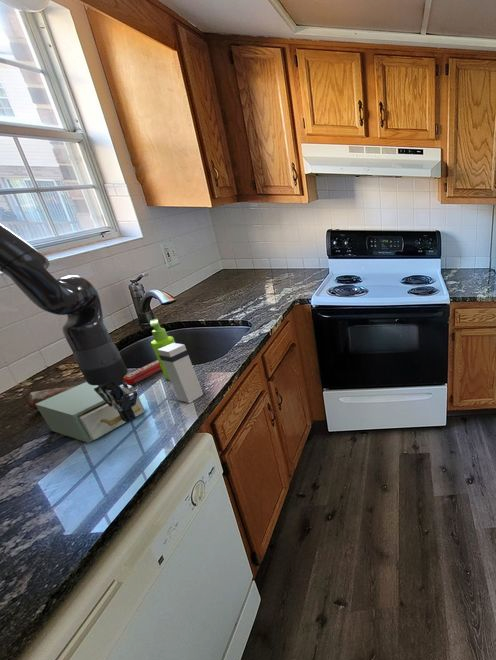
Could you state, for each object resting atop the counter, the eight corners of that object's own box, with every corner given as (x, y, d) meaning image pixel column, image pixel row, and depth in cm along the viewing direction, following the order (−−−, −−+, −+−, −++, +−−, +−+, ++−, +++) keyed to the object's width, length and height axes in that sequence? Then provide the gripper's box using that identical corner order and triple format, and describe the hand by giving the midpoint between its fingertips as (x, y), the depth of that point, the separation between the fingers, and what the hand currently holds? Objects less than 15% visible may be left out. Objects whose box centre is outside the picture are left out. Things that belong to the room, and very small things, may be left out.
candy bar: (129, 387, 115) (125, 379, 114) (121, 386, 116) (117, 378, 115) (176, 363, 129) (173, 356, 128) (168, 362, 130) (165, 355, 129)
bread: (41, 404, 108) (31, 389, 106) (122, 387, 116) (114, 372, 113) (31, 416, 103) (21, 400, 100) (116, 397, 110) (108, 381, 108)
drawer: (155, 414, 101) (146, 393, 98) (105, 443, 90) (92, 421, 87) (111, 402, 106) (101, 382, 104) (59, 428, 96) (46, 407, 93)
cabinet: (144, 411, 103) (132, 386, 100) (88, 443, 92) (72, 415, 88) (109, 402, 108) (96, 377, 105) (51, 430, 97) (34, 404, 93)
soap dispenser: (165, 383, 117) (141, 326, 109) (165, 374, 122) (142, 319, 114) (187, 377, 120) (165, 321, 112) (186, 368, 125) (165, 315, 117)
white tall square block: (189, 403, 107) (168, 352, 99) (177, 400, 108) (156, 349, 101) (204, 394, 111) (185, 344, 103) (192, 391, 112) (173, 342, 105)
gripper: (135, 357, 87) (162, 416, 95) (100, 350, 91) (128, 407, 99) (99, 372, 81) (131, 434, 88) (64, 364, 85) (96, 423, 92)
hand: (129, 419), depth 94 cm, fingers closed
